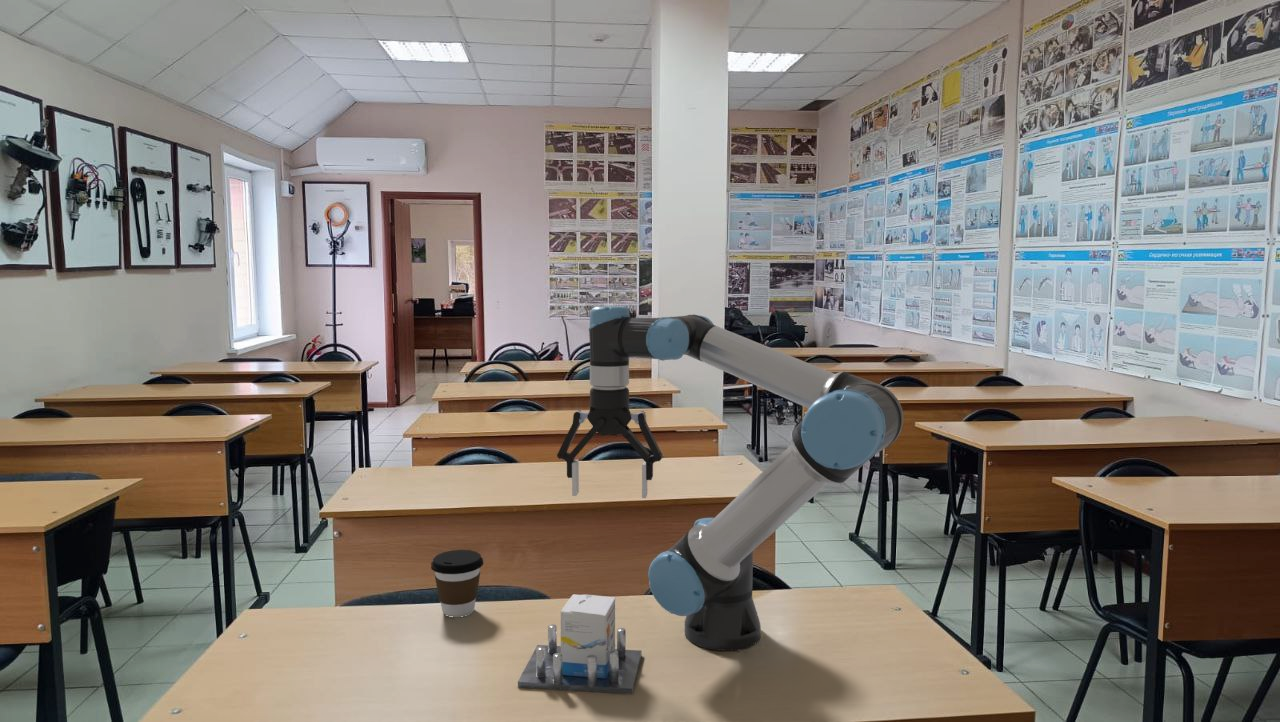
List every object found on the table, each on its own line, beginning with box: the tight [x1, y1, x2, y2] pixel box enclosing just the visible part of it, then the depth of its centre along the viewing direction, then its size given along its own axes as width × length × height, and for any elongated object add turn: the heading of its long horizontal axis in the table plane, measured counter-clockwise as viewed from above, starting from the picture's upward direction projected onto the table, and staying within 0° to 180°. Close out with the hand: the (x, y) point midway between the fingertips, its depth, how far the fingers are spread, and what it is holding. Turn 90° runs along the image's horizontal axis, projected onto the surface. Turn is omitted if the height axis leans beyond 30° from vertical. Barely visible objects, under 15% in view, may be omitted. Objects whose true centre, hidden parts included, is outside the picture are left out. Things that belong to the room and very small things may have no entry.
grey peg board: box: [517, 624, 642, 695], centre depth 141 cm, size 20×15×6 cm
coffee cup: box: [430, 549, 484, 617], centre depth 166 cm, size 11×11×12 cm
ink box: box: [560, 593, 616, 678], centre depth 141 cm, size 9×8×12 cm
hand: (609, 495), depth 152 cm, fingers open, 13 cm apart
